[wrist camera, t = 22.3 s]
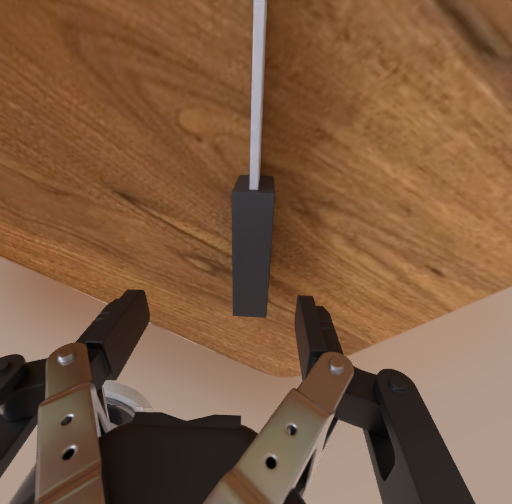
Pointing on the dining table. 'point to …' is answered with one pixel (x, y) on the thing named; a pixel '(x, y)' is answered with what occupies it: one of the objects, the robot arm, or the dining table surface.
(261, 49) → the knife
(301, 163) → the dining table surface
